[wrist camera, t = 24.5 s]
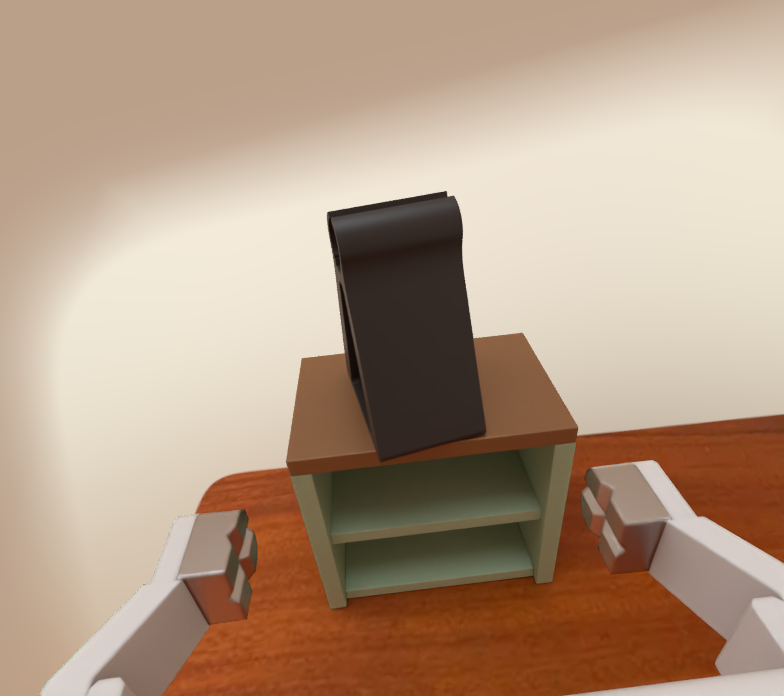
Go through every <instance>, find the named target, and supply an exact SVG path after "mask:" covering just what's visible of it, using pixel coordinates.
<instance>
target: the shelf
mask: <svg viewBox="0 0 784 696" xmlns="http://www.w3.org/2000/svg"><path fill="white" fill-rule="evenodd" d="M473 340H474V347H475V354H476V361H477V368H478V375H479V382H480V389H481V396H482V403H483V410H484V417H485V424H486V433H485V434H481V435H478V436H474V437H470V438H467V439H463V440H460V441H456V442H453V443H449V444H445V445H442V446H438V447H435V448H431V449H428V450H424V451H420V452H417V453H413V454H410V455H406V456H403V457H399V458H395V459H392V460H388V461H385V462H381V463H380V461H379V458H378V455H377V452H376V450H375V447H374V444H373V441H372V438H371V436H370V433H369V430H368V427H367V425H366V422H365V419H364V416H363V413H362V410H361V408H360V405H359V402H358V400H357V397H356V394H355V391H354V389H353V386H352V383H351V380H350V377H349V375H348V371H347V367H346V359H345V353H344V354H336V355H327V356H318V357H310V358H302V360H301V368H300V374H299V380H298V387H297V394H296V400H295V407H294V413H293V420H292V427H291V433H290V440H289V446H288V454H287V460H286V463H287V467H288V470H289V473H290V476H291V480H292V484H293V487H294V490H295V493H296V497H297V500H298V503H299V507H300V510H301V513H302V517H303V520H304V523H305V527H306V530H307V533H308V536H309V540H310V543H311V546H312V550H313V553H314V556H315V560H316V563H317V566H318V570H319V573H320V576H321V579H322V583H323V586H324V589H325V593H326V596H327V599H328V603H329V606H330V609H334V608H342V607H347V598H356V597H364V596H372V595H380V594H388V593H397V592H405V591H413V590H421V589H429V588H437V587H446V586H454V585H462V584H470V583H478V582H486V581H494V580H503V579H511V578H519V577H527V576H533V577H534V580H535V582H536V584H539V583H547V582H552V580H553V574H554V568H555V562H556V556H557V551H558V545H559V539H560V533H561V527H562V521H563V515H564V510H565V504H566V498H567V492H568V486H569V480H570V474H571V469H572V463H573V457H574V451H575V445H576V443H575V442H576V438H577V432H578V426H577V424H576V423H575V421H574V419H573V418H572V416H571V414H570V412H569V411H568V409H567V407H566V406H565V404H564V402H563V401H562V399H561V397H560V396H559V394H558V392H557V390H556V389H555V387H554V385H553V384H552V382H551V380H550V379H549V377H548V375H547V373H546V372H545V370H544V368H543V367H542V365H541V364H540V361H539V360H538V358H537V356H536V355H535V353H534V351H533V350H532V348H531V346H530V344H529V343H528V341H527V339H526V338H525V336H524V334H523V333H517V334H508V335H500V336H492V337H482V338H474V339H473Z"/></svg>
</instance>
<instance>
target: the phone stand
mask: <svg viewBox="0 0 784 696" xmlns="http://www.w3.org/2000/svg"><path fill="white" fill-rule="evenodd" d="M327 222H328V231H329V237H330V242H331V248H332V253H333V259H334V266H335V274H336V283H337V291H338V299H339V308H340V316H341V325H342V333H343V342H344V350H345V359H346V367H347V371H348V375H349V377H350V380H351V383H352V386H353V389H354V391H355V394H356V397H357V400H358V402H359V405H360V408H361V410H362V413H363V416H364V419H365V422H366V425H367V427H368V430H369V433H370V436H371V438H372V441H373V444H374V447H375V450H376V452H377V455H378V458H379V461H380V463H381V462H385V461H388V460H392V459H395V458H399V457H403V456H406V455H410V454H413V453H417V452H420V451H424V450H428V449H431V448H435V447H438V446H442V445H445V444H449V443H453V442H456V441H460V440H463V439H467V438H470V437H474V436H478V435H481V434H485V433H486V424H485V417H484V410H483V403H482V396H481V389H480V382H479V375H478V368H477V361H476V354H475V347H474V340H473V333H472V326H471V319H470V313H469V305H468V298H467V291H466V284H465V277H464V270H463V261H462V239H463V226H462V218H461V213H460V210H459V206H458V203H457V201H456V199H455V197H454V196H450V197H447V191H445V192H439V193H433V194H428V195H422V196H416V197H411V198H405V199H399V200H393V201H388V202H382V203H376V204H371V205H365V206H359V207H353V208H349V209H342V210H337V211H331V212H328V213H327Z"/></svg>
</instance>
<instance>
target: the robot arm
mask: <svg viewBox="0 0 784 696" xmlns="http://www.w3.org/2000/svg"><path fill="white" fill-rule="evenodd" d="M585 480H586V482H587V484H588V486H587V487H586V488H585V489H584V490H583V491H582V495H581V508H582V514H583V517H584V520H585V523H586V525H587V527H588V529H589V531H590V532H591V533H593V534H594V535H596V536H597V537H598V538H600V541H599V545H598V549H599V552H600V554H601V556H602V558H603V560H604V562H605V564H606V566H607V568H608V570H609V572H610V574H622V573H633V572H643V571H648V573H649V574H650V575H651V576H652V577H653V578H654V579H656V580H657V581H658V582H659V583H660V584H661V585H663V586H664V587H665V588H666V589H667V590H668V591H670V592H671V593H672V594H673V595H674V596H676V597H677V598H678V599H679V600H680V601H681V602H683V603H684V604H685V605H686V606H687V607H688V608H690V609H691V610H692V611H693V612H694V613H695V614H697V615H698V616H699V617H700V618H701V619H702V620H704V621H705V622H706V623H707V624H708V625H710V626H711V627H712V628H713V629H714V630H715V631H717V632H718V633H719V634H720V635H721V636H722V637H724V638H725V639H726V640H727V642H726V644H725V645H724V647H723V649H722V650H721V652H720V654H719V655H718V657H717V659H716V662H715V665H716V667H717V669H718V671H719V672H720V674H721V676H716V677H708V678H700V679H692V680H684V681H676V682H668V683H660V684H652V685H644V686H636V687H629V688H621V689H613V690H605V691H597V692H589V693H581V694H573V695H565V696H784V563H782V562H780V561H779V560H777V559H775V558H774V557H772V556H770V555H769V554H767V553H765V552H763V551H762V550H760V549H758V548H757V547H755V546H753V545H752V544H750V543H748V542H746V541H745V540H743V539H741V538H740V537H738V536H736V535H735V534H733V533H731V532H730V531H728V530H726V529H724V528H723V527H721V526H719V525H718V524H716V523H714V522H713V521H711V520H709V519H707V518H706V517H697V516H696V514H695V513H694V512H693V510H692V509H691V508H690V506H689V505H688V504H687V502H686V501H685V500H684V498H683V497H682V495H681V494H680V493H679V491H678V490H677V489H676V487H675V486H674V485H673V483H672V482H671V481H670V479H669V478H668V477H667V475H666V474H665V473H664V471H663V470H662V469H661V467H660V466H659V464H658V463H656V462H655V461H653V460H650V461H642V462H633V463H622V464H614V465H607V466H599V467H592V468H589V469H588V470H587V471H586V475H585ZM248 519H249V518H248V516H247V514H246V512H245V510H235V511H224V512H214V513H203V514H194V515H184V516H178V517H177V518H176V519H175V521H174V522H173V523H172V526H171V529H170V532H169V534H168V537H167V540H166V542H165V545H164V548H163V551H162V553H161V556H160V559H159V562H158V564H157V567H156V570H155V572H154V575H153V578H152V581H151V583H148V584H144V585H143V586H142V587H141V588H140V589H139V590H138V591H137V592H136V593H135V594H134V595H133V596H132V597H131V598H130V599H129V600H128V601H127V602H126V603H125V604H124V605H123V606H122V607H121V608H120V609H119V610H118V611H117V612H116V613H115V614H114V615H113V616H112V617H111V618H110V619H109V620H108V621H107V622H106V623H105V624H104V625H103V626H102V627H101V628H100V629H99V630H98V631H97V632H96V633H95V634H94V635H93V636H92V637H91V638H90V639H89V640H88V641H87V642H86V643H85V644H84V645H83V646H82V647H81V648H80V649H79V650H78V651H77V652H76V653H75V654H74V655H73V656H72V657H71V658H70V659H69V660H68V661H67V662H66V663H65V664H64V665H63V666H62V667H61V668H60V669H59V671H57V672H56V673H55V674H54V675H53V676H52V677H51V678H50V679H49V681H47V682H46V684H45V685H44V687H43V689H42V691H41V693H40V695H39V696H162V695H163V694H164V692H165V691H166V689H167V688H168V686H169V685H170V683H171V682H172V681H173V679H174V678H175V676H176V675H177V673H178V672H179V671H180V669H181V668H182V666H183V665H184V663H185V662H186V660H187V659H188V658H189V656H190V655H191V653H192V652H193V650H194V649H195V648H196V646H197V645H198V643H199V642H200V640H201V639H202V638H203V636H204V635H205V633H206V632H207V630H208V629H209V625H212V624H218V623H225V622H232V621H238V620H245V619H247V616H248V611H249V605H250V600H251V594H252V589H251V586H250V584H249V582H248V580H249V579H250V578H251V576H252V575H253V574H254V573H255V571H256V565H257V541H256V536H255V534H254V531H253V530H251V529H250V528H248V527H247V524H248Z"/></svg>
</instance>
